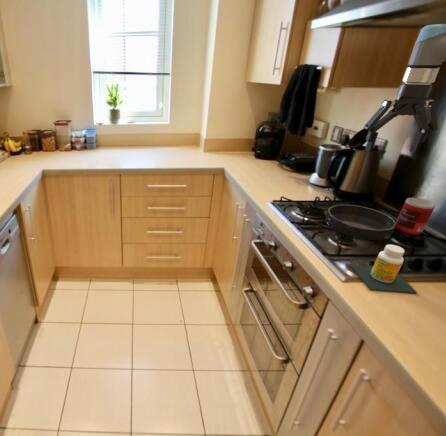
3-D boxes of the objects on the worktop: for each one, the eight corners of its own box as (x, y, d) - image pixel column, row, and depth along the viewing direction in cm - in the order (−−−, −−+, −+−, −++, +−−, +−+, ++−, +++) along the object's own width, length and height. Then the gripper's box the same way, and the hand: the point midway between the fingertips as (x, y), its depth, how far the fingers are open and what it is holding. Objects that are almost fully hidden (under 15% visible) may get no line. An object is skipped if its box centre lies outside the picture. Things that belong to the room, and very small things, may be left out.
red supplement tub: (420, 228, 113) (433, 200, 108) (423, 237, 107) (437, 209, 102) (393, 222, 117) (405, 195, 112) (394, 231, 111) (407, 203, 106)
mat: (391, 268, 93) (391, 267, 93) (416, 294, 83) (417, 292, 83) (350, 266, 94) (351, 264, 94) (370, 290, 85) (370, 288, 85)
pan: (372, 215, 123) (376, 205, 121) (405, 242, 105) (410, 232, 103) (316, 212, 126) (319, 203, 124) (339, 238, 108) (343, 228, 106)
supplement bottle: (368, 277, 89) (380, 248, 84) (372, 269, 92) (384, 240, 87) (391, 286, 85) (406, 256, 81) (395, 277, 89) (409, 248, 84)
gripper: (453, 82, 98) (424, 149, 107) (365, 82, 101) (344, 147, 111) (474, 84, 91) (440, 155, 101) (378, 84, 95) (355, 154, 104)
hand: (390, 151), depth 106 cm, fingers open, 13 cm apart
